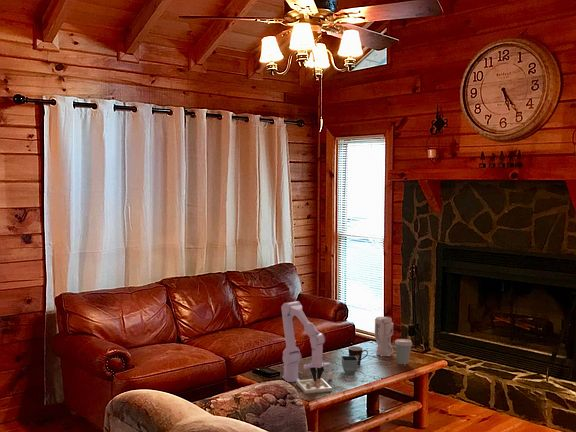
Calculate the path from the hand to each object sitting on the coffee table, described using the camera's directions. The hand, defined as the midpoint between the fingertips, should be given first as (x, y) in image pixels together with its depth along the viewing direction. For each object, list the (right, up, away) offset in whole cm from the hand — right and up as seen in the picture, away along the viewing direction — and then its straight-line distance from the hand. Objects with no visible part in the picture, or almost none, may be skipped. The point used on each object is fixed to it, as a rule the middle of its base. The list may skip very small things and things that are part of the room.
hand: (316, 380), depth 330 cm
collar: (-1, -3, +2) cm, 4 cm away
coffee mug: (+27, -2, +44) cm, 52 cm away
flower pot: (+20, -3, +28) cm, 35 cm away
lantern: (+46, -1, +65) cm, 79 cm away
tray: (-1, -5, +4) cm, 6 cm away
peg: (+9, -4, +16) cm, 19 cm away
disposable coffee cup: (+55, -3, +48) cm, 73 cm away
